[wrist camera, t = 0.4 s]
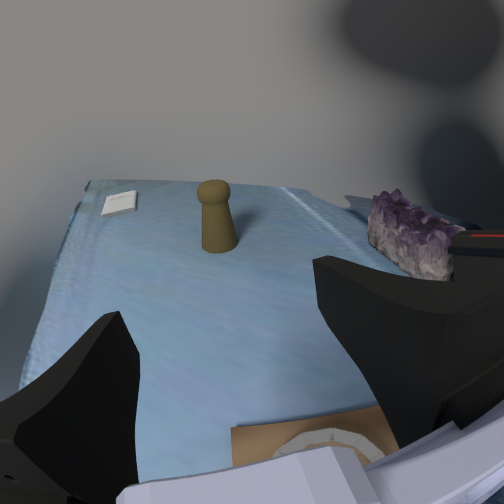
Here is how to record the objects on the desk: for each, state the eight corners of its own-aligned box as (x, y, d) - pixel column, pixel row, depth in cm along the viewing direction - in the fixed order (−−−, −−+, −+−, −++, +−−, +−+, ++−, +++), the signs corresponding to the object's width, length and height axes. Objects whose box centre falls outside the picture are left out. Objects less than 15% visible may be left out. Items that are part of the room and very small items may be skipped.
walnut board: (422, 536, 14) (427, 534, 14) (242, 576, 14) (241, 576, 13) (380, 409, 26) (383, 403, 26) (231, 432, 26) (230, 427, 25)
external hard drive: (102, 220, 69) (107, 201, 79) (135, 213, 70) (137, 195, 81) (100, 214, 68) (106, 196, 78) (134, 206, 70) (136, 189, 80)
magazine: (525, 372, 24) (531, 238, 22) (442, 348, 36) (434, 237, 34) (535, 355, 25) (540, 229, 23) (457, 336, 37) (449, 230, 35)
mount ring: (394, 521, 16) (403, 516, 15) (270, 548, 15) (270, 546, 14) (367, 429, 24) (372, 419, 23) (259, 447, 23) (258, 438, 22)
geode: (341, 240, 54) (349, 183, 50) (385, 232, 59) (395, 182, 54) (432, 300, 38) (454, 230, 33) (469, 281, 42) (488, 222, 38)
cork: (244, 239, 55) (239, 177, 50) (224, 256, 51) (216, 191, 45) (216, 232, 58) (209, 174, 53) (194, 248, 54) (185, 186, 48)
